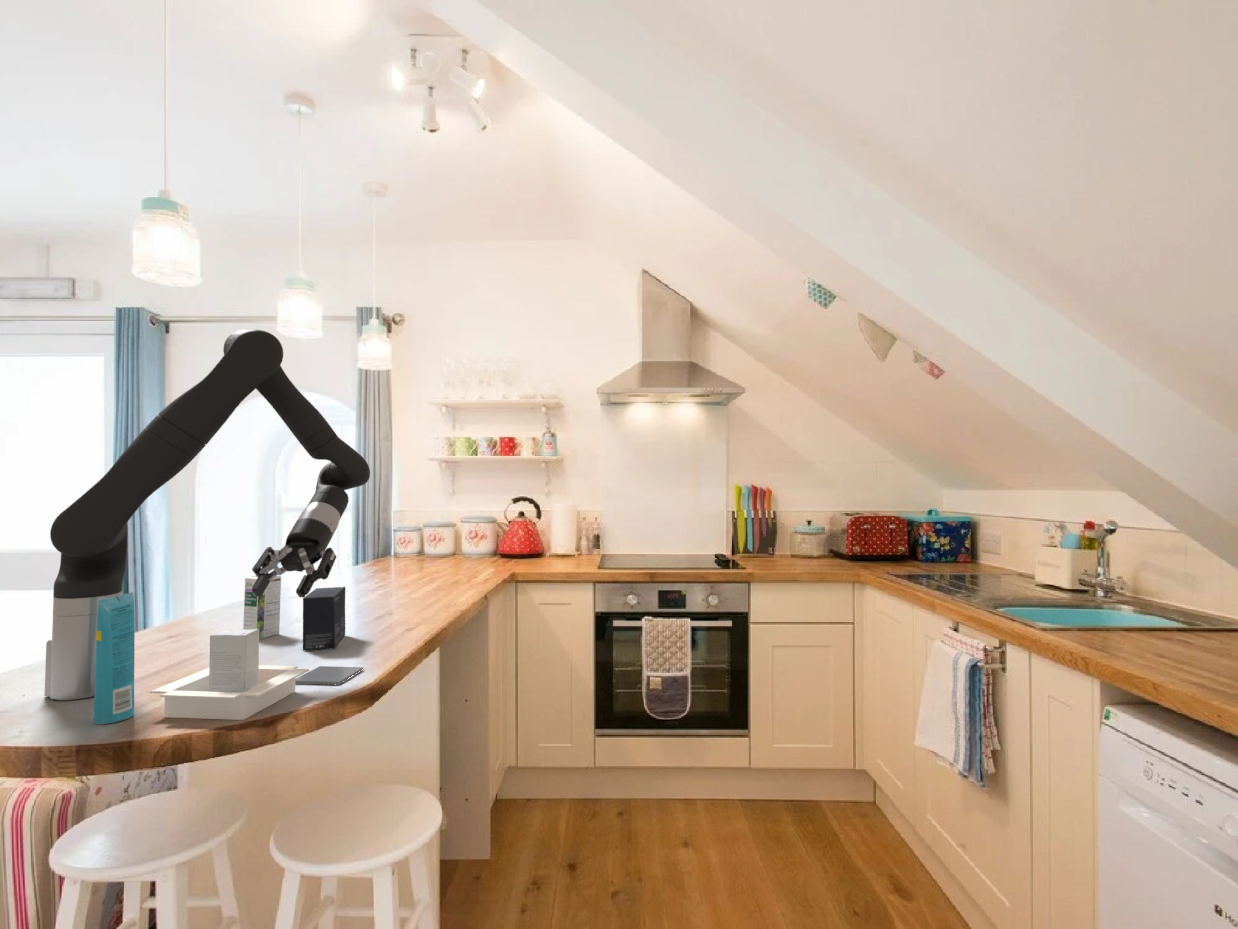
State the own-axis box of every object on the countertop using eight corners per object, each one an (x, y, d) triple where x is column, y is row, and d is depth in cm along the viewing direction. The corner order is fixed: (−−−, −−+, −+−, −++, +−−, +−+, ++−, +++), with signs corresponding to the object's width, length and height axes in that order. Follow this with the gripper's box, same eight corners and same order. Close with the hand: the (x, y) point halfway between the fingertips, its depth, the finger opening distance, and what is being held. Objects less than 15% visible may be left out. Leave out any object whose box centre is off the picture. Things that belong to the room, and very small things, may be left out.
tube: (110, 711, 98) (114, 592, 99) (144, 709, 99) (148, 591, 100) (79, 729, 91) (84, 600, 91) (116, 727, 92) (120, 599, 92)
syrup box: (241, 637, 146) (243, 577, 146) (263, 632, 151) (264, 573, 152) (259, 639, 144) (261, 578, 144) (280, 634, 149) (282, 574, 150)
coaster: (292, 683, 112) (292, 680, 112) (319, 669, 121) (319, 666, 121) (338, 685, 111) (338, 682, 111) (363, 670, 120) (363, 667, 120)
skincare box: (259, 699, 104) (260, 628, 104) (244, 708, 100) (246, 634, 100) (223, 699, 104) (224, 629, 104) (206, 708, 99) (208, 635, 100)
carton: (141, 720, 94) (142, 694, 94) (218, 686, 110) (218, 664, 111) (251, 724, 93) (252, 698, 93) (313, 689, 109) (313, 666, 109)
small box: (315, 637, 146) (316, 587, 147) (345, 635, 148) (346, 586, 149) (301, 651, 134) (302, 597, 134) (334, 649, 136) (335, 595, 136)
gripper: (273, 516, 123) (232, 582, 111) (341, 517, 122) (306, 583, 110) (289, 540, 128) (251, 605, 116) (354, 541, 127) (322, 606, 115)
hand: (278, 594), depth 113 cm, fingers open, 8 cm apart
